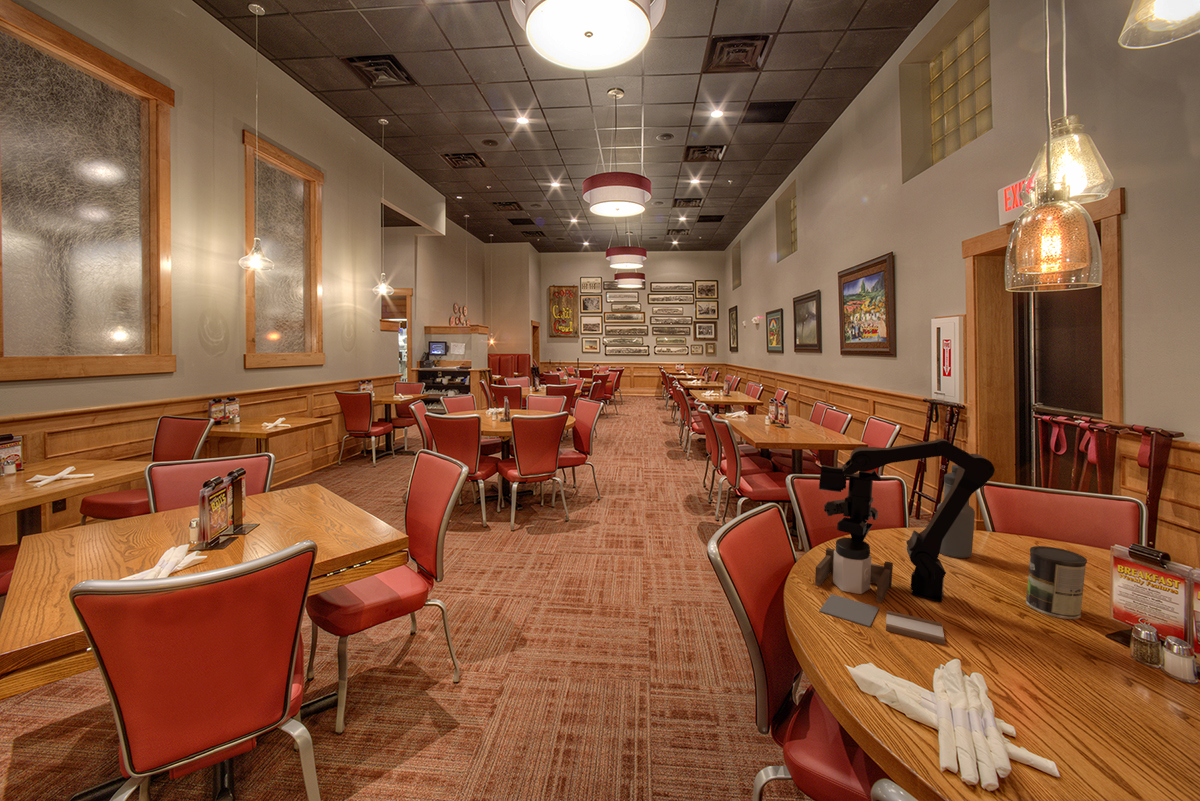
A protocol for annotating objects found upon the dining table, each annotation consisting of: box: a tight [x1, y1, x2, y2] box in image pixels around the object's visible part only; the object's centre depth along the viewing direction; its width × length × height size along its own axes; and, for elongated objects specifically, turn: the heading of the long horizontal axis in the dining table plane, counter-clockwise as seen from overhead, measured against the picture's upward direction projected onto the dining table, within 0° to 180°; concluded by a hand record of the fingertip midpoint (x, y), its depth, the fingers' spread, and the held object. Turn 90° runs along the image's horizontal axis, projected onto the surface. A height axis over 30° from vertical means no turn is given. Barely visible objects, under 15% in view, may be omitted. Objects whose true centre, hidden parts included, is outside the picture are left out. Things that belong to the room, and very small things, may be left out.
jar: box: [832, 537, 872, 595], centre depth 133 cm, size 9×8×12 cm
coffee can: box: [1025, 545, 1088, 620], centre depth 122 cm, size 10×10×14 cm
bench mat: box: [819, 594, 880, 628], centre depth 122 cm, size 11×11×1 cm
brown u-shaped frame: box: [814, 547, 894, 604], centre depth 135 cm, size 17×13×6 cm
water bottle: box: [936, 464, 976, 559], centre depth 157 cm, size 10×10×28 cm
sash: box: [885, 609, 946, 646], centre depth 113 cm, size 11×8×1 cm
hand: (856, 549), depth 137 cm, fingers closed
